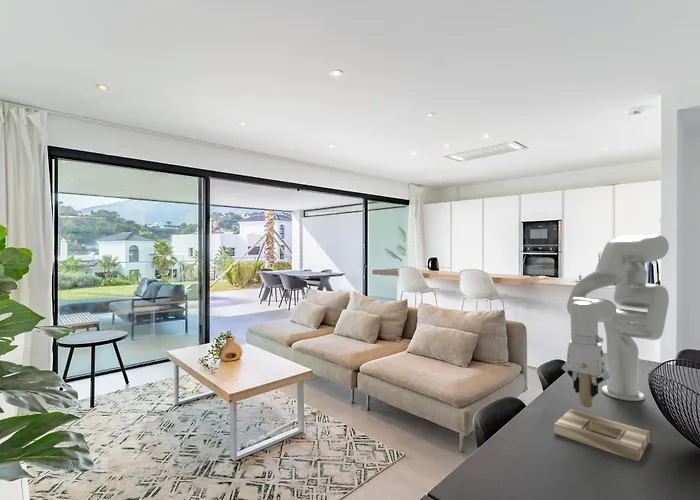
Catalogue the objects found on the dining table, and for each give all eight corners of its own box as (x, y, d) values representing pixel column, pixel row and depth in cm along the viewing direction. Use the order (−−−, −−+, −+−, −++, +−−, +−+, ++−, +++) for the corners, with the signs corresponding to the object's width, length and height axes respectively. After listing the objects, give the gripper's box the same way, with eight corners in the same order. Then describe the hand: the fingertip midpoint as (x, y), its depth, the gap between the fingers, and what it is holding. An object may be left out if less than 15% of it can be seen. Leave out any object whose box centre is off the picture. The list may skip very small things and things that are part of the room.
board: (570, 418, 120) (570, 408, 120) (649, 441, 105) (649, 430, 105) (554, 433, 110) (554, 423, 110) (638, 461, 96) (638, 449, 96)
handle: (593, 411, 120) (592, 365, 119) (572, 404, 125) (571, 360, 124) (600, 406, 123) (598, 361, 122) (578, 400, 128) (577, 357, 127)
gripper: (617, 340, 119) (619, 397, 120) (560, 332, 132) (562, 383, 132) (611, 346, 114) (613, 404, 115) (552, 337, 127) (554, 390, 127)
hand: (585, 392), depth 124 cm, fingers closed on handle, 4 cm apart
